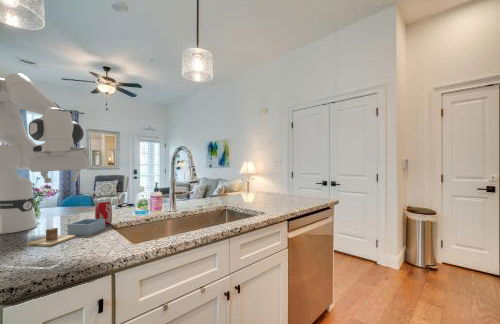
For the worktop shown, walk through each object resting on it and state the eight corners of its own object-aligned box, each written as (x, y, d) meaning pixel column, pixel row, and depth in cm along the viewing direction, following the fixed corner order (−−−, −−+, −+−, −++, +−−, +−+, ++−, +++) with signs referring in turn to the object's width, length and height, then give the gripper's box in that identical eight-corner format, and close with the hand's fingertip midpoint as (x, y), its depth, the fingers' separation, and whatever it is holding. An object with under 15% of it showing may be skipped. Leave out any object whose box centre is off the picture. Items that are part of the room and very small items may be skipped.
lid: (25, 245, 85) (25, 232, 85) (52, 236, 95) (52, 224, 95) (51, 246, 84) (51, 233, 84) (75, 237, 94) (75, 225, 94)
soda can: (103, 227, 110) (103, 202, 110) (91, 226, 112) (91, 202, 112) (115, 223, 117) (115, 200, 117) (103, 223, 119) (103, 199, 119)
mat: (24, 247, 85) (24, 245, 85) (52, 237, 96) (52, 236, 96) (51, 248, 84) (51, 246, 84) (76, 238, 95) (76, 236, 95)
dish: (67, 236, 97) (67, 224, 97) (85, 229, 107) (85, 218, 107) (88, 236, 96) (88, 224, 96) (105, 230, 106) (105, 219, 106)
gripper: (92, 147, 98) (93, 179, 98) (37, 149, 95) (38, 183, 94) (84, 145, 92) (85, 180, 92) (25, 148, 88) (26, 184, 88)
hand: (61, 181), depth 93 cm, fingers open, 8 cm apart
